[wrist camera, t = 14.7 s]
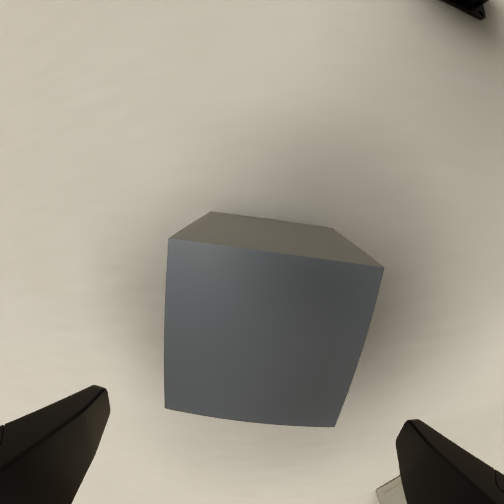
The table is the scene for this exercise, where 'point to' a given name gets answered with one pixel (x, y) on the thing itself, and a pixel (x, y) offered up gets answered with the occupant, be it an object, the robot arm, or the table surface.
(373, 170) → the table surface
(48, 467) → the robot arm
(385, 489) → the supplement box
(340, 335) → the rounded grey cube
